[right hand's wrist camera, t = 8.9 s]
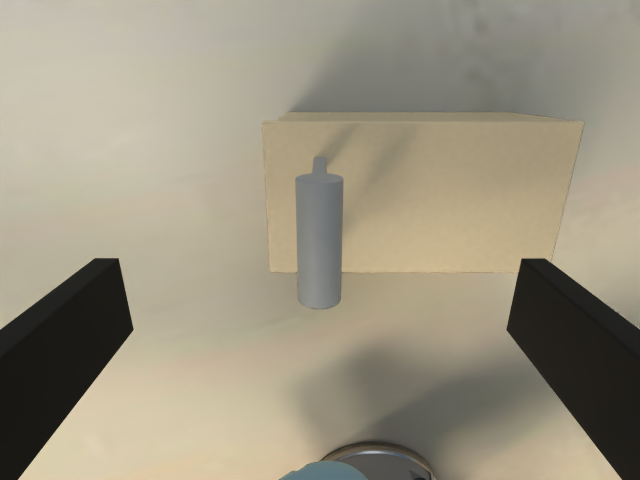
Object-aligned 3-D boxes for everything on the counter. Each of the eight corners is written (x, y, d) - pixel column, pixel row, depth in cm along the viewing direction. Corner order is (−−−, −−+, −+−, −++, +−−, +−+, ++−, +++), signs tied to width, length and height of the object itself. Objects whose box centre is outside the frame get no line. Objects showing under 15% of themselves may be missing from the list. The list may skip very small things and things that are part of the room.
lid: (271, 267, 26) (250, 342, 18) (263, 120, 22) (234, 137, 15) (542, 267, 26) (635, 342, 18) (576, 120, 22) (708, 137, 15)
